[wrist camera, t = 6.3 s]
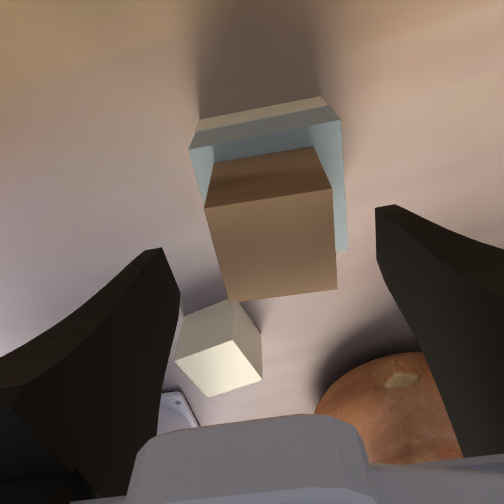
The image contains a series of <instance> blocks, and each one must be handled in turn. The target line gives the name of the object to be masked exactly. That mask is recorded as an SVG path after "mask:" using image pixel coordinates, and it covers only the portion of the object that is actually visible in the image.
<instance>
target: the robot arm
mask: <svg viewBox="0 0 504 504" xmlns="http://www.w3.org/2000/svg"><path fill="white" fill-rule="evenodd" d="M375 225H376V258H377V262H378V265H379V268H380V270H381V273H382V276H383V278H384V281H385V283H386V285H387V287H388V289H389V291H390V293H391V294H392V296H393V298H394V300H395V302H396V303H397V305H398V307H399V309H400V311H401V312H402V314H403V316H404V318H405V319H406V321H407V323H408V325H409V326H410V328H411V330H412V332H413V334H414V335H415V337H416V339H417V341H418V343H419V345H420V347H421V349H422V352H423V354H424V357H425V359H426V361H427V364H428V366H429V368H430V371H431V373H432V376H433V378H434V381H435V383H436V386H437V388H438V391H439V393H440V396H441V398H442V401H443V403H444V406H445V409H446V411H447V414H448V417H449V419H450V422H451V425H452V427H453V430H454V433H455V435H456V438H457V441H458V444H459V446H460V449H461V452H462V455H463V458H459V459H450V460H441V461H432V462H423V463H414V464H405V465H397V464H383V463H369V459H368V456H367V452H366V448H365V444H364V441H363V439H362V438H361V436H360V434H359V433H358V431H357V430H356V428H355V426H353V425H351V424H349V423H347V422H344V421H342V420H340V419H337V418H335V417H332V416H330V415H328V414H294V415H286V416H278V417H271V418H263V419H255V420H247V421H240V422H232V423H224V424H217V425H209V426H201V427H199V426H198V424H197V422H196V420H195V418H194V416H193V414H192V412H191V410H190V408H189V406H188V404H187V402H186V400H185V398H184V396H183V394H182V393H180V392H177V391H176V392H168V393H162V385H163V380H164V375H165V371H166V367H167V363H168V358H169V354H170V350H171V346H172V342H173V338H174V334H175V330H176V326H177V321H178V316H179V306H180V291H179V288H178V286H177V283H176V281H175V278H174V276H173V273H172V271H171V269H170V266H169V264H168V261H167V259H166V256H165V254H164V251H163V249H162V247H161V248H156V249H150V250H145V251H144V252H142V253H141V254H140V255H139V256H137V257H136V258H135V259H134V260H133V261H132V262H131V263H130V264H128V265H127V266H126V267H125V268H124V269H123V270H122V271H121V272H120V273H119V274H118V275H117V276H116V277H114V278H113V279H112V280H111V281H110V282H109V283H108V284H107V285H106V286H105V287H103V288H102V289H101V290H100V291H99V292H98V293H96V294H95V295H94V296H93V297H92V298H91V299H89V300H88V301H87V302H86V303H85V304H83V305H82V306H81V307H80V308H78V309H77V310H76V311H74V312H73V313H72V314H70V315H69V316H67V317H66V318H65V319H63V320H62V321H61V322H59V323H58V324H56V325H55V326H53V327H52V328H50V329H48V330H47V331H45V332H44V333H42V334H40V335H39V336H37V337H36V338H34V339H32V340H31V341H29V342H28V343H26V344H24V345H22V346H21V347H19V348H17V349H15V350H14V351H12V352H10V353H8V354H6V355H4V356H2V357H0V504H504V249H500V248H497V247H494V246H491V245H488V244H484V243H481V242H478V241H476V240H473V239H470V238H468V237H465V236H463V235H460V234H458V233H455V232H453V231H450V230H448V229H446V228H444V227H441V226H439V225H437V224H435V223H433V222H431V221H429V220H427V219H424V218H422V217H420V216H418V215H416V214H414V213H412V212H410V211H408V210H406V209H404V208H402V207H400V206H398V205H395V204H393V205H388V206H382V207H377V208H375Z"/></svg>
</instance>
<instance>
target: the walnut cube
mask: <svg viewBox="0 0 504 504" xmlns="http://www.w3.org/2000/svg"><path fill="white" fill-rule="evenodd" d="M204 211H205V215H206V219H207V222H208V226H209V230H210V233H211V237H212V241H213V244H214V248H215V252H216V255H217V259H218V263H219V267H220V270H221V274H222V278H223V281H224V285H225V289H226V292H227V296H228V300H229V303H235V302H242V301H250V300H257V299H265V298H272V297H280V296H288V295H295V294H303V293H310V292H318V291H325V290H333V289H337V270H336V250H335V230H334V210H333V191H332V187H331V184H330V182H329V180H328V178H327V175H326V173H325V171H324V169H323V166H322V164H321V162H320V160H319V158H318V155H317V153H316V151H315V149H314V146H310V147H304V148H298V149H292V150H286V151H280V152H274V153H268V154H262V155H257V156H251V157H245V158H239V159H233V160H227V161H221V162H215V163H214V164H213V169H212V173H211V178H210V183H209V187H208V192H207V196H206V201H205V205H204Z"/></svg>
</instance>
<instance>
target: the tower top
mask: <svg viewBox="0 0 504 504" xmlns="http://www.w3.org/2000/svg"><path fill="white" fill-rule="evenodd" d="M310 146H314V149H315V151H316V153H317V155H318V158H319V160H320V162H321V164H322V166H323V169H324V171H325V173H326V175H327V178H328V180H329V182H330V184H331V187H332V191H333V210H334V230H335V250H336V252H339V251H345V250H349V248H348V231H347V215H346V198H345V181H344V164H343V147H342V130H341V119H340V118H339V117H338V116H337V114H336V113H335V112H334V111H333V109H332V108H331V107H330V106H324V107H319V108H314V109H309V110H304V111H299V112H294V113H289V114H284V115H279V116H274V117H269V118H264V119H259V120H254V121H249V122H244V123H239V124H234V125H229V126H224V127H219V128H214V129H209V130H204V131H199V132H196V133H195V136H194V138H193V140H192V142H191V145H190V147H189V149H188V151H189V154H190V157H191V161H192V164H193V168H194V171H195V174H196V178H197V181H198V185H199V188H200V191H201V195H202V198H203V202H204V205H205V201H206V196H207V192H208V187H209V183H210V178H211V173H212V169H213V164H214V163H215V162H221V161H227V160H233V159H239V158H245V157H251V156H257V155H262V154H268V153H274V152H280V151H286V150H292V149H298V148H304V147H310Z"/></svg>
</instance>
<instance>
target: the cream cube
mask: <svg viewBox="0 0 504 504" xmlns="http://www.w3.org/2000/svg"><path fill="white" fill-rule="evenodd" d="M174 362H175V363H176V364H177V365H178V366H179V367H180V368H181V369H182V370H183V371H184V372H185V374H186V375H187V376H188V377H189V378H190V379H191V380H192V381H193V382H194V383H195V384H196V385H197V387H198V388H199V389H200V390H201V391H202V392H203V393H204V394H205V395H206V396H207V397H208V398H209V397H212V396H215V395H218V394H221V393H224V392H227V391H230V390H233V389H236V388H239V387H242V386H245V385H248V384H251V383H254V382H257V381H260V380H263V378H262V350H261V334H260V332H259V331H258V329H257V328H256V326H255V325H254V323H253V322H252V320H251V319H250V318H249V316H248V315H247V313H246V312H245V310H244V309H243V307H242V306H241V305H240V303H239V302H235V303H229V300H228V299H226V300H223V301H221V302H218V303H216V304H213V305H211V306H208V307H206V308H203V309H201V310H198V311H196V312H193V313H191V314H188V315H186V316H184V318H183V322H182V327H181V332H180V336H179V341H178V346H177V350H176V355H175V359H174Z"/></svg>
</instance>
